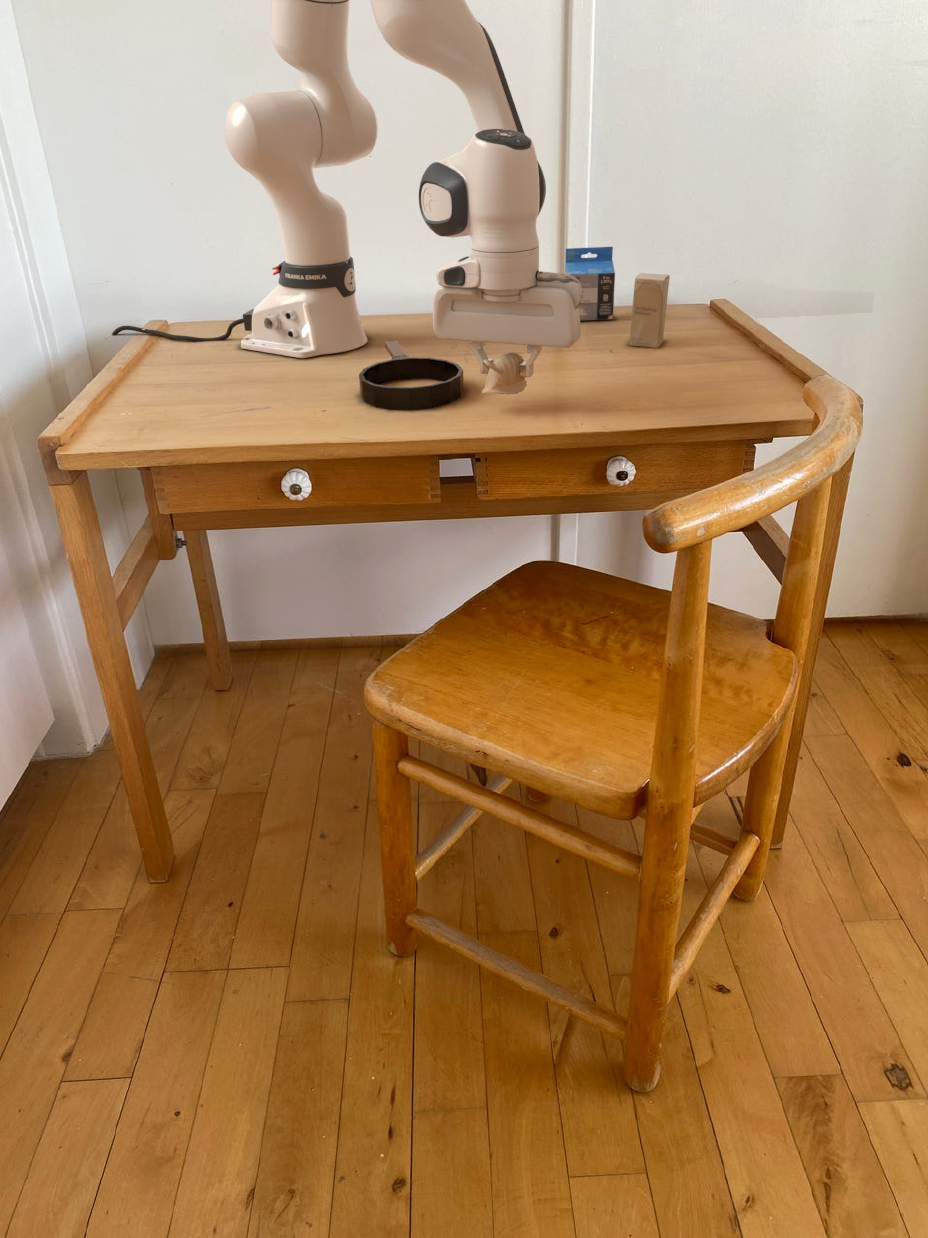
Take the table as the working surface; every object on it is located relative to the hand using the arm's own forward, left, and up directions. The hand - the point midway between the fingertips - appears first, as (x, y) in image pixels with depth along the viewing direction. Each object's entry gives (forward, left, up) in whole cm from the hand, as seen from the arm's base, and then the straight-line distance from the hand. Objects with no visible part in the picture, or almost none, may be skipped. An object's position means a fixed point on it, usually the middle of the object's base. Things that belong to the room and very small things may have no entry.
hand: (506, 374), depth 128 cm
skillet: (-19, +7, -5) cm, 21 cm away
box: (+12, +38, -5) cm, 40 cm away
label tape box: (-2, +52, -5) cm, 52 cm away
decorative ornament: (0, 0, -2) cm, 3 cm away
